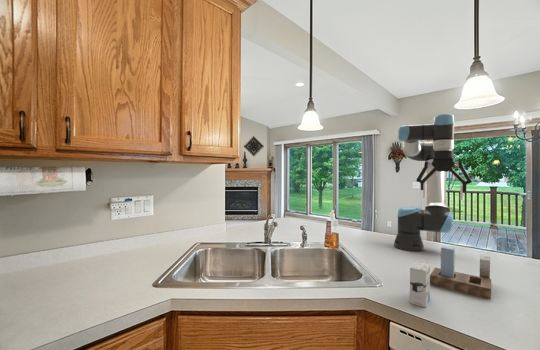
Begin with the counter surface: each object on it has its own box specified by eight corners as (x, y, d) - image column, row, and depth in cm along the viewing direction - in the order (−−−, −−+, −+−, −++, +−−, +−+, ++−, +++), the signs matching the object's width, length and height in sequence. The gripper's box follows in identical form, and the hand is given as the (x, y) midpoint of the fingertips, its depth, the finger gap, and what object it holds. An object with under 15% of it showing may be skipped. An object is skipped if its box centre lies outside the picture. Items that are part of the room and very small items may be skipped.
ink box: (414, 293, 93) (414, 260, 93) (430, 298, 90) (430, 264, 90) (408, 303, 87) (409, 267, 86) (425, 308, 83) (426, 271, 83)
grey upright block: (479, 284, 101) (479, 259, 101) (480, 279, 106) (480, 255, 106) (489, 287, 99) (490, 260, 99) (489, 281, 104) (490, 256, 104)
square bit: (440, 283, 102) (441, 247, 102) (442, 280, 105) (442, 245, 105) (452, 286, 100) (453, 249, 99) (454, 283, 103) (454, 247, 102)
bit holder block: (429, 284, 101) (430, 275, 101) (434, 275, 110) (435, 267, 110) (490, 299, 90) (490, 289, 90) (491, 288, 98) (491, 279, 98)
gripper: (409, 151, 120) (408, 197, 120) (479, 148, 104) (478, 201, 104) (413, 152, 126) (412, 196, 126) (480, 149, 110) (479, 200, 110)
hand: (442, 198), depth 115 cm, fingers open, 13 cm apart
